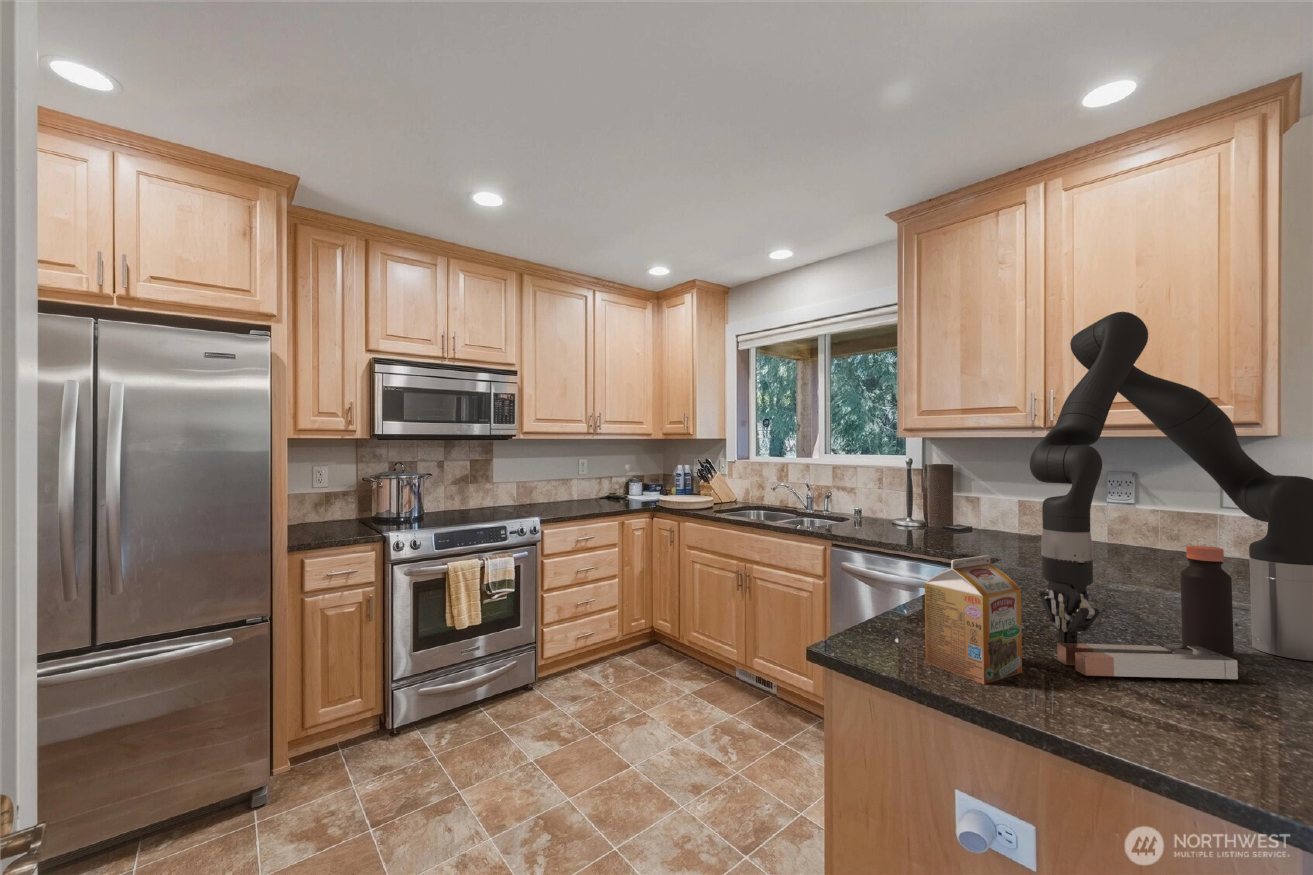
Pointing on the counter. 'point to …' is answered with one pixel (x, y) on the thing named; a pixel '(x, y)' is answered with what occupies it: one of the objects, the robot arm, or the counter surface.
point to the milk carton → (974, 621)
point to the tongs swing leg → (1115, 650)
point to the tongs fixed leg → (1158, 664)
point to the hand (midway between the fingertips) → (1068, 651)
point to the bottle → (1207, 601)
